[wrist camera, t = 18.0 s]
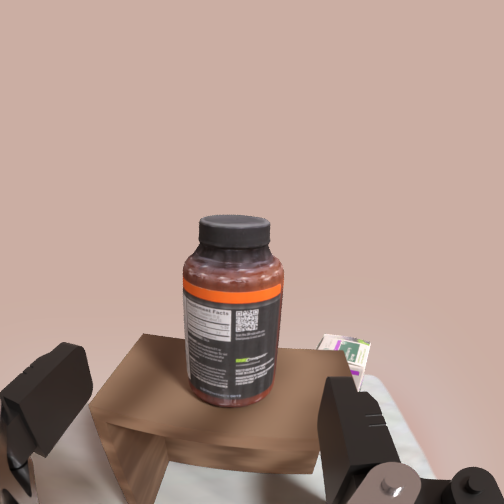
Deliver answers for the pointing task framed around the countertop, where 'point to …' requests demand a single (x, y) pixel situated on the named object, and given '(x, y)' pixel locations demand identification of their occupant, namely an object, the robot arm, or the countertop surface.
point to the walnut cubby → (207, 417)
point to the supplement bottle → (232, 311)
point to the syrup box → (349, 354)
